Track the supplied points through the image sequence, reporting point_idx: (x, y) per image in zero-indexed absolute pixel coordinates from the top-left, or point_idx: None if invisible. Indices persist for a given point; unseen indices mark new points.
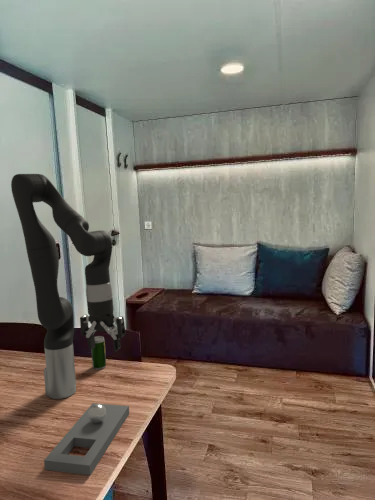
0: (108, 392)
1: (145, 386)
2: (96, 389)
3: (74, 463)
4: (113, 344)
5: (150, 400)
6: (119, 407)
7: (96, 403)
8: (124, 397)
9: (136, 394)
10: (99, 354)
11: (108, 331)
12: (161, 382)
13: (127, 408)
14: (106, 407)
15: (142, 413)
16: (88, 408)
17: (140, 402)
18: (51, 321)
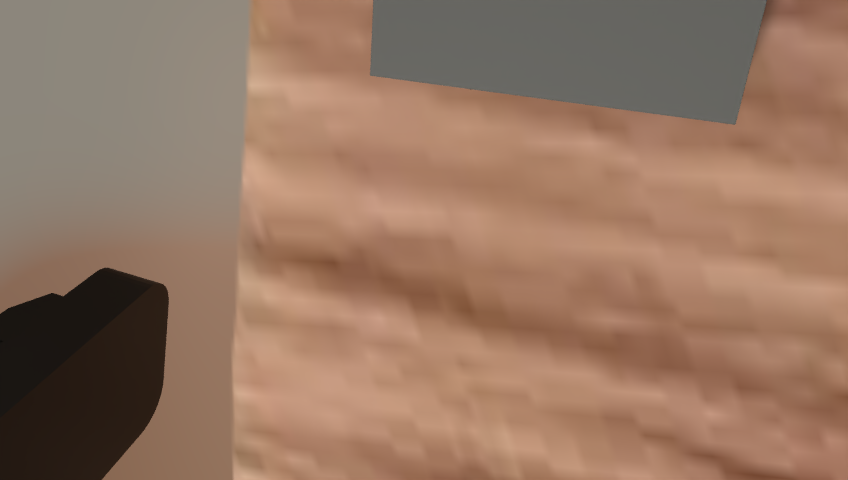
0: (657, 376)
1: (378, 429)
2: (781, 431)
3: None
4: (41, 371)
5: (285, 243)
6: (446, 48)
7: (693, 115)
8: (498, 295)
9: (414, 330)
10: None
11: None
12: (280, 466)
13: (373, 38)
14: (571, 47)
15: (290, 66)
16: (756, 22)
17: (351, 219)
18: None
